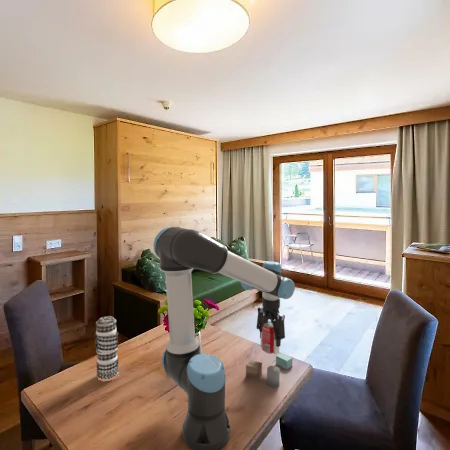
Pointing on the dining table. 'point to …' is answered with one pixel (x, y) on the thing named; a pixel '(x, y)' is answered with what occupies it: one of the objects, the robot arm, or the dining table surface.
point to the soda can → (268, 337)
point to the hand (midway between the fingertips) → (269, 349)
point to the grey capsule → (273, 376)
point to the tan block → (253, 369)
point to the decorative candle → (106, 347)
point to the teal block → (284, 360)
